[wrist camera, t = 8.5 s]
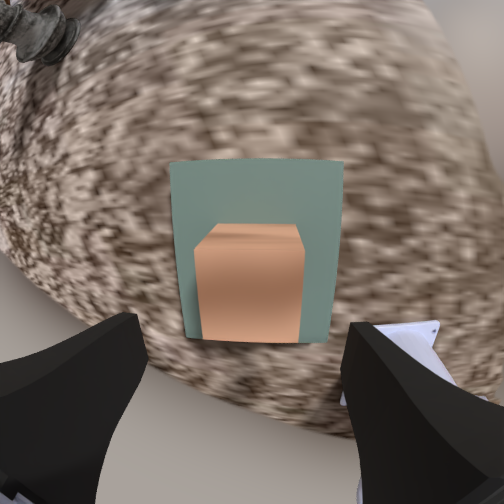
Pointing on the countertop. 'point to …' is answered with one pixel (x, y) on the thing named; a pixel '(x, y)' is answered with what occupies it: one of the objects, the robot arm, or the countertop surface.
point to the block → (250, 282)
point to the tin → (5, 2)
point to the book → (261, 222)
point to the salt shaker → (38, 33)
